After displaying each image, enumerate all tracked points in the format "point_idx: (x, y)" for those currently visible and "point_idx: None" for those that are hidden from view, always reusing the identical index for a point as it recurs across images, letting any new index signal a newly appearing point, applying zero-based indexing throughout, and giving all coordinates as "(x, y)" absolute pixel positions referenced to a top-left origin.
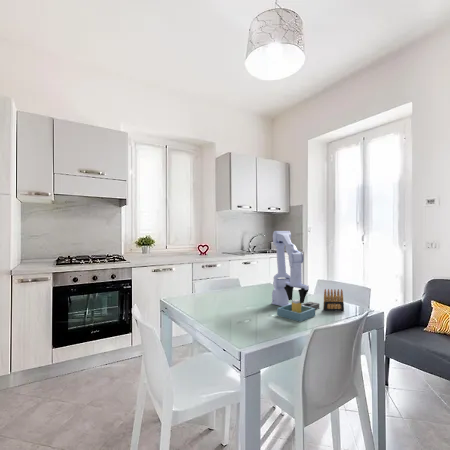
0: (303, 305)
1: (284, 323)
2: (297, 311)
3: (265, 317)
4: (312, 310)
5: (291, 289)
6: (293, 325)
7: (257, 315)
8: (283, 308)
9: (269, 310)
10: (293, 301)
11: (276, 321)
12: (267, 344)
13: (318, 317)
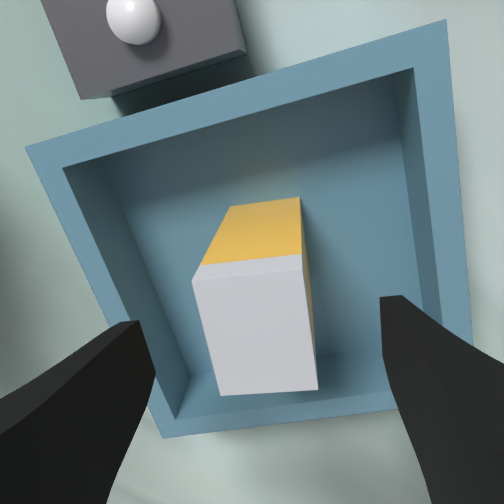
0: (134, 9)
1: (386, 460)
2: (309, 283)
3: (188, 472)
4: (449, 120)
5: (21, 500)
6: None
7: (119, 483)
8: (155, 353)
9: (16, 341)
10: (258, 388)
11: (312, 472)
12: None
13: (486, 53)
